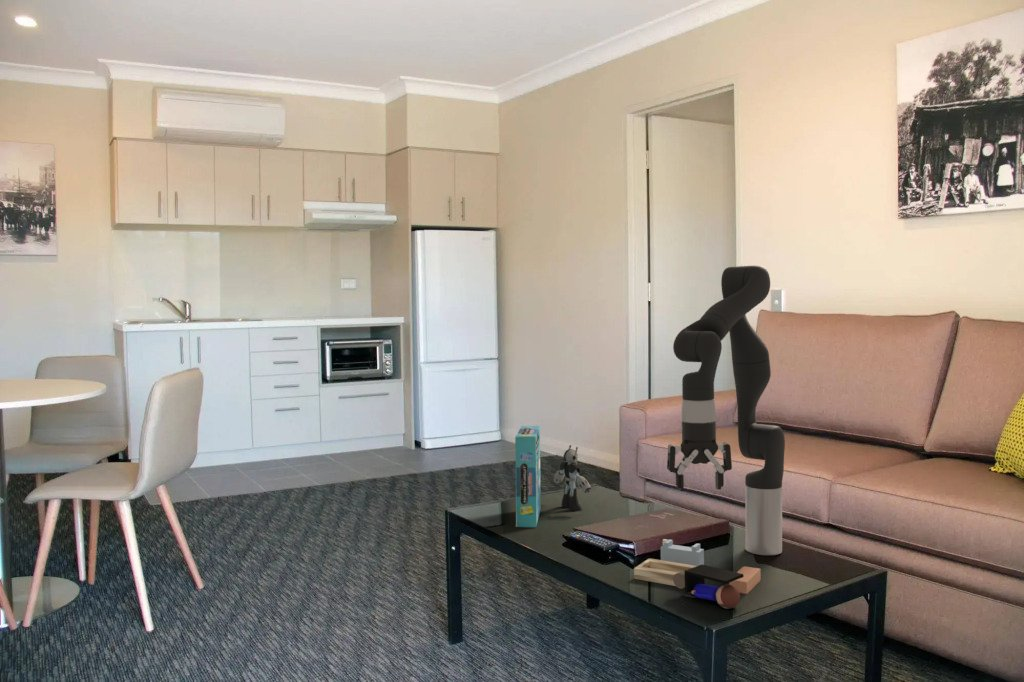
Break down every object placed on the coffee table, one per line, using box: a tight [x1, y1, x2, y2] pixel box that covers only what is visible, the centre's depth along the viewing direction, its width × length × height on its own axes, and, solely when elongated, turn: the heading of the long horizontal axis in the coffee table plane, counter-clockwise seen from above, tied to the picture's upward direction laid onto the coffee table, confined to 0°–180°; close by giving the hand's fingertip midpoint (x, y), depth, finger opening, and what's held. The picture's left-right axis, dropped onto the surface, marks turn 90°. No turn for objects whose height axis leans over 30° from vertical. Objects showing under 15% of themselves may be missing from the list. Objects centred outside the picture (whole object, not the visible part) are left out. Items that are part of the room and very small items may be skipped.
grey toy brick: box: [660, 538, 705, 566], centre depth 209 cm, size 3×10×6 cm, turn 58°
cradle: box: [633, 558, 696, 587], centre depth 200 cm, size 9×14×2 cm, turn 57°
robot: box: [552, 444, 592, 512], centre depth 269 cm, size 20×5×20 cm, turn 29°
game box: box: [514, 425, 542, 528], centre depth 256 cm, size 20×6×27 cm, turn 175°
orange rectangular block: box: [728, 565, 762, 595], centre depth 194 cm, size 11×4×3 cm, turn 148°
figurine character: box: [673, 564, 744, 610], centre depth 184 cm, size 7×8×15 cm
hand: (699, 489), depth 191 cm, fingers open, 8 cm apart
